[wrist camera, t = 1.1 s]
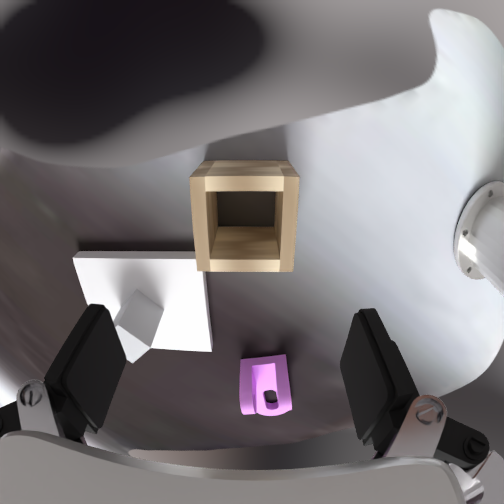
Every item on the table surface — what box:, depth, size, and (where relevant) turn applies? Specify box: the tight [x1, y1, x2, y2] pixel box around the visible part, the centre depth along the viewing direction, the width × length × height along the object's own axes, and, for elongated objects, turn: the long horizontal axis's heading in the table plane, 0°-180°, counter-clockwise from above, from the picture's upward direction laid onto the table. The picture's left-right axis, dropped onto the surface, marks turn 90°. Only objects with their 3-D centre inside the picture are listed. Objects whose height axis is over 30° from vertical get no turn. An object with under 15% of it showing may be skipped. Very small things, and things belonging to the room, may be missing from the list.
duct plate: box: [73, 251, 213, 363], centre depth 27 cm, size 14×12×7 cm
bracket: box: [239, 354, 292, 416], centre depth 34 cm, size 13×6×7 cm, turn 9°
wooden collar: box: [189, 160, 300, 272], centre depth 22 cm, size 7×7×6 cm
